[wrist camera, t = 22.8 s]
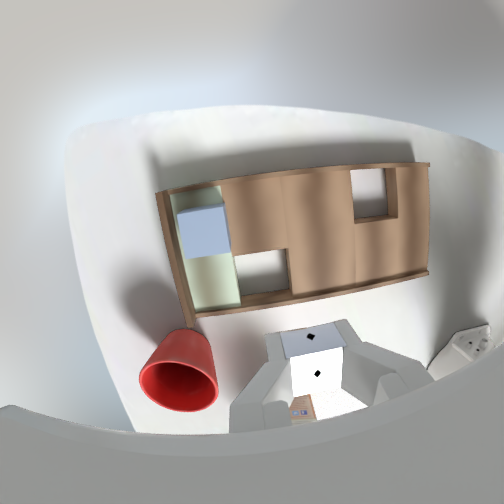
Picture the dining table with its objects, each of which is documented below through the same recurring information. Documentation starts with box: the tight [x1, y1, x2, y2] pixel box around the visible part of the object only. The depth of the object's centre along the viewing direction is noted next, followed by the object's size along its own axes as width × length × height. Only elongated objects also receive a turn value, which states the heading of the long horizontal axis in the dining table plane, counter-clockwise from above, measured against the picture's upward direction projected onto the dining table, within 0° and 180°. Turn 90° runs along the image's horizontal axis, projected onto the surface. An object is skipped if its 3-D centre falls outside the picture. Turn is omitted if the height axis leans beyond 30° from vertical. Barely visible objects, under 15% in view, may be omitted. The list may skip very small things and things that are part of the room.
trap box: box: [155, 162, 430, 328], centre depth 33 cm, size 36×17×6 cm, turn 98°
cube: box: [177, 202, 232, 259], centre depth 30 cm, size 5×5×4 cm
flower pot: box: [139, 329, 219, 412], centre depth 36 cm, size 11×11×10 cm
